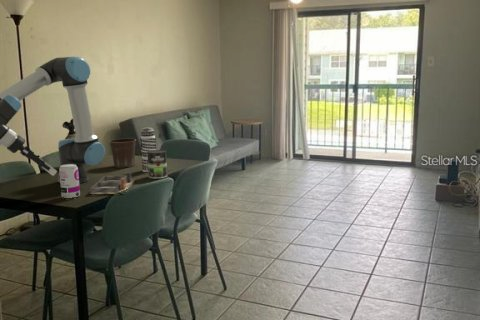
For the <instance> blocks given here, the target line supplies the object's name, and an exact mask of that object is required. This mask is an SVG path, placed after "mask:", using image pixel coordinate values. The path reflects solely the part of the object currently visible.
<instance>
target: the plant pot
mask: <svg viewBox="0 0 480 320" xmlns="http://www.w3.org/2000/svg"><path fill="white" fill-rule="evenodd" d="M136 141H137V139H136V138H129V137H126V138H125V137H124V138H123V137H122V138H115V139H114V138H113V139H110V140H108V142H109V146H110V150H111V155H112V160H113V161H112V162H113V165H114V168H118V169H125V168H131V167H134V166H135V165H136V162H135V159H136V158H135V157H136V155H135V153H136Z"/></svg>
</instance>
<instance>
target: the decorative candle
mask: <svg viewBox="0 0 480 320" xmlns="http://www.w3.org/2000/svg"><path fill="white" fill-rule="evenodd" d="M139 140H140V147H141V148H140V150H141V158H142V159H141V163H142V165H141V166H142V172H143V173H148V156H147V152H148V151H151V150H157V147H156V146H157V141H156V140H157V138H156V135H155V129H154V128H153V127H152V126H151V127H148V126H147V127H142V128H141V130H140V139H139Z"/></svg>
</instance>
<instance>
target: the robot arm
mask: <svg viewBox="0 0 480 320" xmlns="http://www.w3.org/2000/svg"><path fill="white" fill-rule="evenodd" d="M90 75H91V68H90V65H89V63H88V61H86V60H85V59H84V58H82V57H79V56H66V57H65V56H64V57H56V58H52V59H51V60H49V61H47V62H45V63H43V64H41V65H40V66H38V67H36V69H35V71H34V72H32V73H31V74H29V75H27V76H25V77H24V78H22V79H20V80H19V81H17V82H15V83H14V84H12V85H10V86H9V87H7V88H5V89H3V90H2V91H0V146H1V145H2V146H3V147H4V148H6V149H7V150H8V151H9V152H11V153H12V154H16V153H18V151H20V152H19V153H20V155H22V156H23V157H25V158H27V159H29V160H31V161H33V162H34V163H35V164H37V165H38V168H40V169H43V170H44V171H46V172H47V173H49V175H51V176H53V177H54V176H55V175H56V173H57V172H58V170H57V169H55V168H54V167H52V166H51V165H50V164H49V163H48V162H46V161H45V160H43V158H41V156H40V155H37V154H35V152H34V151H33V150H31V148H29V147H28V146H27V145H26V146H24V144H25V143H26V139H25V138H23V137H22V136H20V135H18V133H17V132H15V130H13V129H12V128H10V127H9V126H7V125H8V123H9V122H10V121H11V120H12V119H13V117H15V116H16V115H17V113H19V111H20V109H21V108H22V102H21V100H23V99H25V98H27V97H28V96H30V95H31V94H33V93H35V92H36V91H39V90H40V89H41V88H43V87H45V86H46V87H47V86H50V85H52V84H55V83H58V82H59V83H60V82H61V83H62V87H63V88H64V89H66V90H67V96H68V101H69V102H68V103H69V106H70V110H71V116H72V119H73V123H74V127H75V129H74V131H75V132H76V138H72V139H65V138H64V139H61V140H59V141H58V148H57V149H58V154H59V155H58V156H59V165H60V166H61V165H66V164H76V166H77V167H78V175H79V184H83V183H82V182H84V183H87V182H89V176H88V172H87V170H86V168H85V165H88V166H94V165H95V166H96V165H98V164H100V163H101V162H102V161H103V159H104V158H105V154H106V148H105V145H104V144H103V143H101V142H100V140H99V137H98V135H96V134H95V132H94V128H93V127H94V125H93V122H92V116H91V111H90V106H89V99H88V95H87V90H86V87H87V85H88V84H89V83H88V79H89V78H90ZM60 166H59V167H60ZM57 180H58V181H57V182H59V183H60V174H58V178H57ZM86 181H87V182H86ZM59 183H58V184H59Z"/></svg>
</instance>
